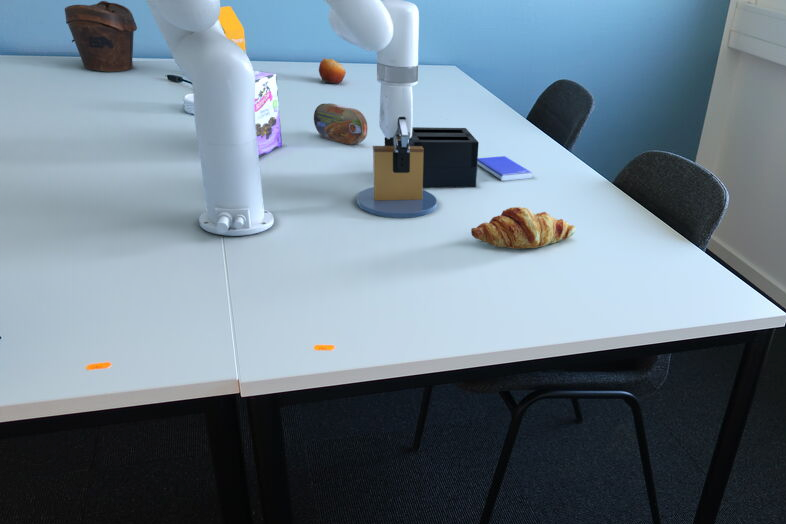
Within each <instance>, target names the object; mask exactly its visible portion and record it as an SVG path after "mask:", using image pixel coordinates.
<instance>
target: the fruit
mask: <svg viewBox="0 0 786 524" xmlns="http://www.w3.org/2000/svg"><path fill="white" fill-rule="evenodd" d="M318 73H319V77H320V78H321V81H322V85H323V84H325V83H330V84H336V85H339V84H341V83H342V82H343V80H344V79H345V76H346V70H345V68H344V66H343V65H342V64H341V63H339V62H338V61H337V60H334V59H332V58H323V59H322V60H321V61H320V63H319V66H318Z"/></svg>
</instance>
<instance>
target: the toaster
mask: <svg viewBox="0 0 786 524" xmlns="http://www.w3.org/2000/svg"><path fill="white" fill-rule="evenodd" d="M409 146H422V147H423V149H424V152H423V189H431V188H432V189H433V188H434V189H435V188H436V189H437V188H438V189H439V188H440V189H441V188H442V189H443V188H444V189H445V188H477V176H478V164H477V161H478V158H479V141H478V140H477V139H476V138H475V137H474V135H473V134H472V133H471V132H470V131H469V130H468V128H466V127H427V126H426V127H421V126H420V127H419V126H418V127H415V126H414V127H413V126H412V137H411V138H410V139H409Z"/></svg>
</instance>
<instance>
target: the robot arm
mask: <svg viewBox="0 0 786 524" xmlns="http://www.w3.org/2000/svg"><path fill="white" fill-rule="evenodd" d="M323 1H324V2H325V3H326V4H327V5H328V6H329V7H330V8H329V12H328V22H329V25H330V27H331V29H332V31H333V32H334V33H335V34H336V35H337V36H338V38H340V39H342V40H344V41H346V43H347V42H348V43H349V44H352V45H353V46H356V47H358V48H360V49H362V50H364V51H367V52H376V81H377V82H378V83H379V84H380V92H379V120H378V121H379V123H378V124H379V128H380V130H381V132H382V134H383V136H384V146H394V151H395V152H394V151H393V172H394V173H409V172H410V147H409V139H410V138H411V137H412V127H413V125H414V124H413V119H414V118H413V115H414V113H413V112H414V110H413V109H414V106H413V105H414V104H413V103H414V102H413V99H414V97H413V87H414V86H417V85H418V84H419V41H420V40H419V37H420V36H419V35H420V34H419V32H420V11H419V8H418V6H417V5H416V4H415V3H413V2H410V1H407V0H323ZM145 2H146V3H147V6H148V8H149V10H150V12H151V15H152V17H153V19H154V21H155V23H156V25H157V27H158V29H159V32H160V33H161V35H162V37H163V40H164V41H165V44H166V46H167V48H168V50H169V53H170V54H171V57H172V58H173V60H174V62H175V64H176V66H177V67H178V69H179V70H180V72H181V73H182V74H183V75H184V77H185V78H186V79H188V80H189V81H190V83H191V86H192V93H193V95H194V114H193V116H194V125H195V126H194V127H195V133H196V139H197V146H198V147H197V148H198V153H199V161H200V168H201V169H200V170H201V175H202V182H203V189H204V190H203V191H204V197H205V198H204V199H205V205H206V210H205V211H204V212H202V213H201V214H200V215H199V217H198V224H199V226H200V228H201V229H203V230H204V231H206V232H208V233H210V234H214V235H219V236H229V237H235V236H236V237H240V236H250V235H255V234H259V233H262V232H264V231H266V230H268V229H270V228H271V227H272V226H273V225H274V222H275V219H274V215H273V213H272V212H271V211H269V210H268V209H266V208H264V198H263V188H262V187H263V186H262V178H261V165H260V157H259V155H258V145H257V135H256V124H255V75H254V71H255V70H254V67H253V63H252V62H251V60H250V58H249V56H248V55H247V52H246V53H245V52H244V51H243V50H242V49H241V48H240V47H239V46H238V45H237V44H236V43H234V42H233V41H231V40H230V39H228V38H227V37H226V36H225V34H224V31H223V29H222V27H221V24H220V22H219V20H218V17H219V14H220V7H221V1H220V0H145Z"/></svg>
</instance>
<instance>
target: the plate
mask: <svg viewBox="0 0 786 524" xmlns="http://www.w3.org/2000/svg"><path fill="white" fill-rule="evenodd" d="M356 204H357V206H358V207H359V208H360V209H361V210H363V211H365V212H366V213H369V214H372V215H375V216H379V217H384V218H393V219H409V218H410V219H411V218H417V217H422V216H426V215H428V214H431V213H432V212H434V211H435V210H436V208H437V206H438V200H437V198H436V196H435V195H434V194H433V193H431V192H429V191H426V190H424V189H423V193H422V200H375V199H374V186H372V187H368V188H365V189H363V190H361V191H360V192H359V193H358V194H357V195H356Z"/></svg>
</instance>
